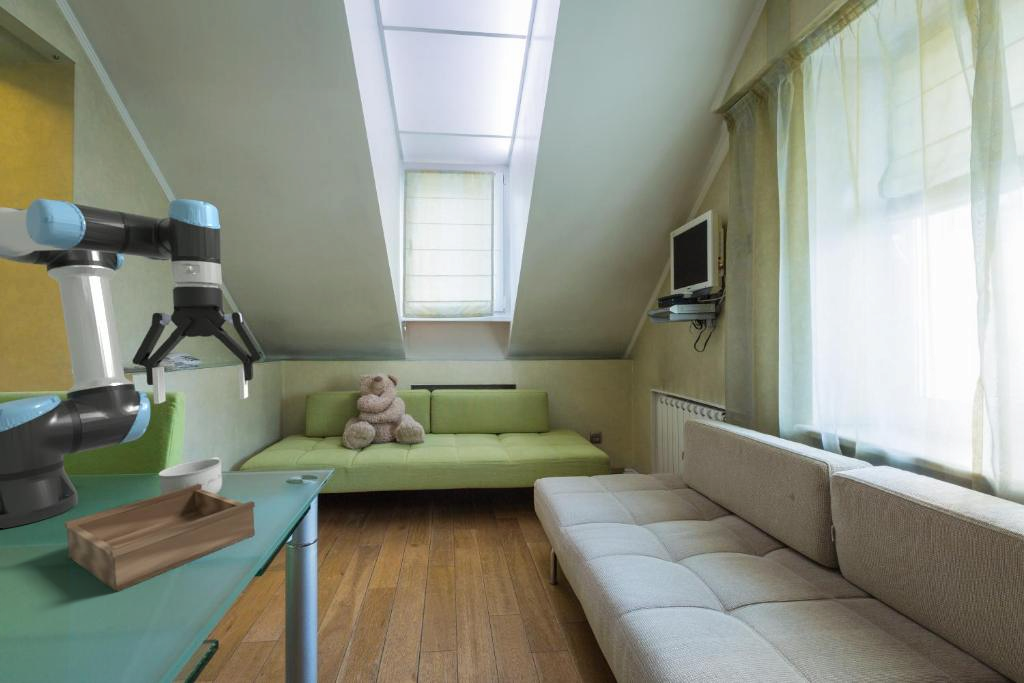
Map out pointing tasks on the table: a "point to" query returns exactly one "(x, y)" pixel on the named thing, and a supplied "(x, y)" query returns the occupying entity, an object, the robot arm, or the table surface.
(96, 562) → the crate
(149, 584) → the table surface
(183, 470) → the teacup
